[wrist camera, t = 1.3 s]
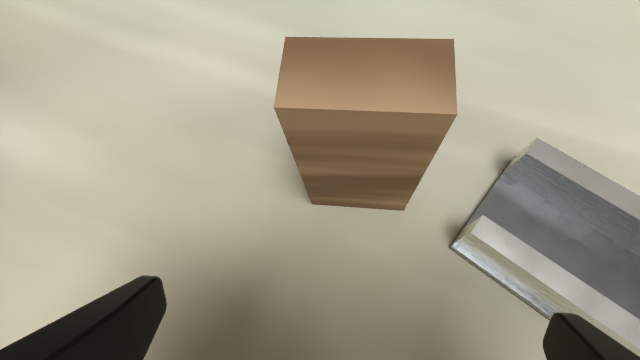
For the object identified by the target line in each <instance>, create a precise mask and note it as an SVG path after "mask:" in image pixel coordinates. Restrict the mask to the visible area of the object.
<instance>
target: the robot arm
mask: <svg viewBox="0 0 640 360" xmlns="http://www.w3.org/2000/svg"><path fill="white" fill-rule="evenodd" d="M166 306H167V303H166V298H165V293H164V289H163V284H162V281H161V279H160V278H159V277H157V276H147V275H144V276H140V277H138V278H136V279H134V280H132V281H131V282H129V283H127V284H125V285H123V286H121V287H119V288H117V289H115V290H113V291H111V292H110V293H108V294H106V295H104V296H102V297H100V298H98V299H96V300H94V301H92V302H90V303H89V304H87V305H85V306H83V307H81V308H79V309H77V310H75V311H73V312H71V313H69V314H68V315H66V316H64V317H62V318H60V319H58V320H56V321H54V322H52V323H50V324H48V325H47V326H45V327H43V328H41V329H39V330H37V331H35V332H33V333H31V334H29V335H27V336H26V337H24V338H22V339H20V340H18V341H16V342H14V343H12V344H10V345H8V346H6V347H5V348H3V349H1V350H0V360H143V359H144V357H145V355H146V353H147V351H148V348H149V346H150V344H151V342H152V340H153V337H154V335H155V333H156V331H157V329H158V327H159V324H160V322H161V320H162V318H163V316H164V314H165V311H166ZM543 349H544V353H545V356H546V358H547V360H640V357H639V356H638V355H636V354H635V353H633V352H632V351H630V350H629V349H628V348H626V347H625V346H623V345H622V344H620V343H619V342H617V341H616V340H614V339H613V338H611V337H610V336H608V335H607V334H606V333H604V332H603V331H601V330H600V329H598V328H597V327H595V326H594V325H592V324H591V323H589V322H588V321H586V320H585V319H584V318H582V317H581V316H579V315H577V314H573V313H563V312H556V313H554V314H553V315H552V317H551V319H550V322H549V325H548V327H547V330H546V333H545V336H544V339H543Z"/></svg>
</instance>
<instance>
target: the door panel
mask: <svg viewBox="0 0 640 360" xmlns="http://www.w3.org/2000/svg"><path fill="white" fill-rule="evenodd" d="M274 109H275V111H276V114H277V116H278V119H279V122H280V124H281V127H282V129H283V132H284V134H285V137H286V139H287V142H288V144H289V147H290V149H291V152H292V154H293V157H294V159H295V162H296V164H297V167H298V169H299V172H300V174H301V177H302V179H303V182H304V184H305V187H306V189H307V192H308V194H309V197H310V200H311V202H312V204H317V205H331V206H345V207H360V208H374V209H388V210H403V211H404V209H405V207H406V205H407V203H408V202H409V200H410V198H411V196H412V194H413V193H414V191H415V189H416V187H417V185H418V184H419V182H420V180H421V178H422V177H423V175H424V173H425V171H426V169H427V168H428V166H429V164H430V162H431V160H432V159H433V157H434V155H435V153H436V151H437V150H438V148H439V146H440V144H441V142H442V141H443V139H444V137H445V135H446V133H447V132H448V130H449V128H450V126H451V124H452V123H453V121H454V119H455V117H456V115H457V99H456V76H455V54H454V39H402V38H322V37H285V43H284V49H283V55H282V61H281V67H280V73H279V79H278V85H277V92H276V98H275V104H274Z"/></svg>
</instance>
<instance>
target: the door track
mask: <svg viewBox="0 0 640 360" xmlns="http://www.w3.org/2000/svg"><path fill="white" fill-rule="evenodd" d="M449 248H450V249H452V250H453V251H454V252H456V253H457V254H458V255H460V256H461V257H463V258H464V259H465V260H467V261H468V262H470V263H471V264H472V265H474V266H475V267H476V268H478V269H479V270H481V271H482V272H483V273H485V274H486V275H488V276H489V277H490V278H492V279H493V280H495V281H496V282H497V283H499V284H500V285H501V286H503V287H504V288H506V289H507V290H508V291H510V292H511V293H513V294H514V295H515V296H517V297H518V298H519V299H521V300H522V301H524V302H525V303H526V304H528V305H529V306H531V307H532V308H533V309H535V310H536V311H538V312H539V313H540V314H542V315H543V316H544V317H546V318H547V319H549V320H550V319H551V317H552V315H553V314H554V313H556V312H563V313H573V314H577V315H579V316H581V317H582V318H584V319H585V320H586V321H588V322H589V323H591V324H592V325H594V326H595V327H597V328H598V329H600V330H601V331H603V332H604V333H606V334H607V335H608V336H610V337H611V338H613V339H614V340H616V341H617V342H619V343H620V344H622V345H623V346H625V347H626V348H628V349H629V350H630V351H632V352H633V353H635V354H636V355H638V356H639V357H640V196H638V195H637V194H635V193H633V192H631V191H630V190H628V189H626V188H624V187H623V186H621V185H619V184H617V183H616V182H614V181H612V180H610V179H609V178H607V177H605V176H603V175H602V174H600V173H598V172H596V171H594V170H593V169H591V168H589V167H587V166H586V165H584V164H582V163H580V162H579V161H577V160H575V159H573V158H572V157H570V156H568V155H566V154H565V153H563V152H561V151H559V150H558V149H556V148H554V147H552V146H551V145H549V144H547V143H545V142H544V141H542V140H540V139H538V138H536V139H535V140H534V141H533V142H532V143H530V144H529V145H528V146H527V147H526V148H525V149H524V150H523V151H522V152H520V153H519V154H518V155H517V156H515V157H513V158H512V159H511V161H510V162H509V164H508V165H507V166H506V168H505V169H504V171H503V172H502V174H501V175H500V176H499V178H498V179H497V181H496V182H495V183H494V185H493V186H492V188H491V189H490V191H489V192H488V193H487V195H486V196H485V198H484V199H483V200H482V202H481V203H480V205H479V206H478V208H477V209H476V210H475V212H474V213H473V215H472V216H471V218H470V219H469V220H468V222H467V223H466V225H465V226H464V227H463V229H462V230H461V232H460V233H459V235H458V236H457V237H456V239H455V240H454V242H453V243H452V244H451V246H450V247H449Z"/></svg>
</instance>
